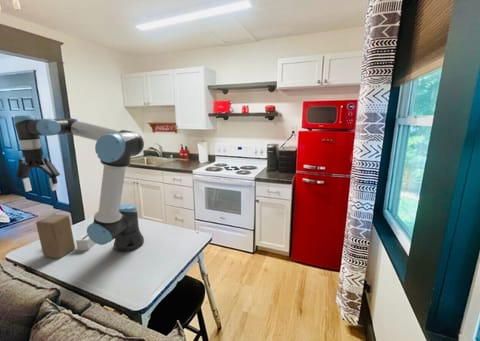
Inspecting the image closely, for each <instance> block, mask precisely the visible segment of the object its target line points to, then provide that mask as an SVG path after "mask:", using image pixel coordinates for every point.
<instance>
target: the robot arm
mask: <svg viewBox="0 0 480 341" xmlns="http://www.w3.org/2000/svg"><path fill="white" fill-rule="evenodd" d="M13 122H14V127H15V131H16V135H17V138H18V142H19V147H20V149H21V155H22V158H19V159H18V166H17V171H16V176H15V177H16V178H17V179H18V178H19V179H21V183H22V185H23V187H24V191H25V192H26V193H27V192H30V191H32V190H33V189H32V184H31V180H30V177H28V176H29V174H30V173H31V170H32V169H33V168H36V169H37V168H39V169H40V170H42V171H43V172H44V173H45V174H46V175H47V176H48V177H49V178H48V179H49V185H50V188H51V191H52V192H54V191H57V190H58V178H57V177H59V176H60V175H61V174H60V172H59V171H58V169H57V168H56V166H55V165H54V164H53V163H52V160H51V158H50V157H43V156H44V151H43V148H41V147H42V144H41V137H40V136H45V137H46V136H47V137H49V136H51V137H52V136H57V135H72V136H77V137H81V138H84V139H88V140H92V141H96V143H95V146H94V148H95V149H94V150H95V154H97V158H98V159H99V160H100V163H101V165H103V168H102V169H103V170H102V171H103V172H102V177H101V178H102V179H101V188H100V196H99V205H98V211H96V212H95V214H94V216H93V222H92V223H90V224H89V225H88V226H87V228H86V235H88V236H89V238H90V239H91V240H92V241H93V242H94V243H96V244H97V245H99V246H104V245H107V244H108V243H110V242H112V241H113V240H114V241H113V248H114V250H115V251H116V252H120V253H123V252H124V253H125V252H130V251H134V250H136V249H139V248H140V247H142V246H143V244H144V243H145V240H144V238H145V237H144V235H142V232H141V230H140V226H139V217H138V210H137V206H136V205H135V204H131V203H124V204H123V203H122V194H123V187H124V181H125V180H124V179H125V173H126V169H127V168H128V167H129V166H130V164H131V160H132V159H131V158H132V157H135V156H137V155H139V154H140V153H142V151H143V149H144V148H145V141H144V138H143V137H142V136H141V134H139V133H137V132H135V131H131V130H125V129H121V130H116V129H113V128H109V127H104V126H100V125H96V124H92V123H87V122H83V121H81V120H80V119H78V118H72V117H71V118H41V119H39V118H38V119H36V117H35V116H34V115H28V114H27V115H15V116H13ZM96 244H95V245H96Z"/></svg>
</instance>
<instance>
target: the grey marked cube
mask: <svg viewBox="0 0 480 341" xmlns="http://www.w3.org/2000/svg"><path fill="white" fill-rule="evenodd" d="M75 242H76V243H75V244H76V248H77V251H90V250H91V249H92V248H93V247H94V246H95V245H96V243H94V242H93V241H92V240H91V239H90V238H89V236H88V234H82V235H81V236H80V237H78V238H77V239H76V240H75Z"/></svg>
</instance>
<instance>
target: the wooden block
mask: <svg viewBox="0 0 480 341" xmlns="http://www.w3.org/2000/svg"><path fill="white" fill-rule="evenodd" d="M35 224H36V229H37V232H38V237H39V243H40V246H41V250H42V251H41V252H42V255H43V257H45V258H50V259H51V258H52V259H57V260H58V259H61V258H62V257H64V256H65V255H67V254H68V253H71V252H72V251H74V250H75V249H76V246H75V244H76V243H75V240H74V235H73V229H72V224H71V220H70V216H69V215H67V214H57V213H54V214H50V215H48V216H46V217H44V218H42V219H39V220H37V221H36V222H35Z"/></svg>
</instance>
